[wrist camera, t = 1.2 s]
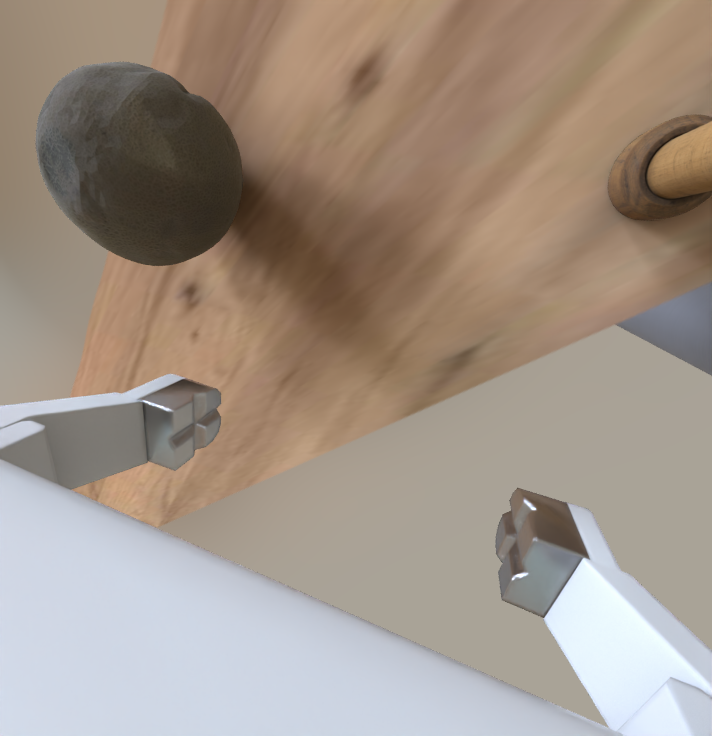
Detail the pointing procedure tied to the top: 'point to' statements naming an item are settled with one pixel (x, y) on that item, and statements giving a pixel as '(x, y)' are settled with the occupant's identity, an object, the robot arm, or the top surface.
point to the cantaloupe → (139, 162)
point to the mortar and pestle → (664, 170)
